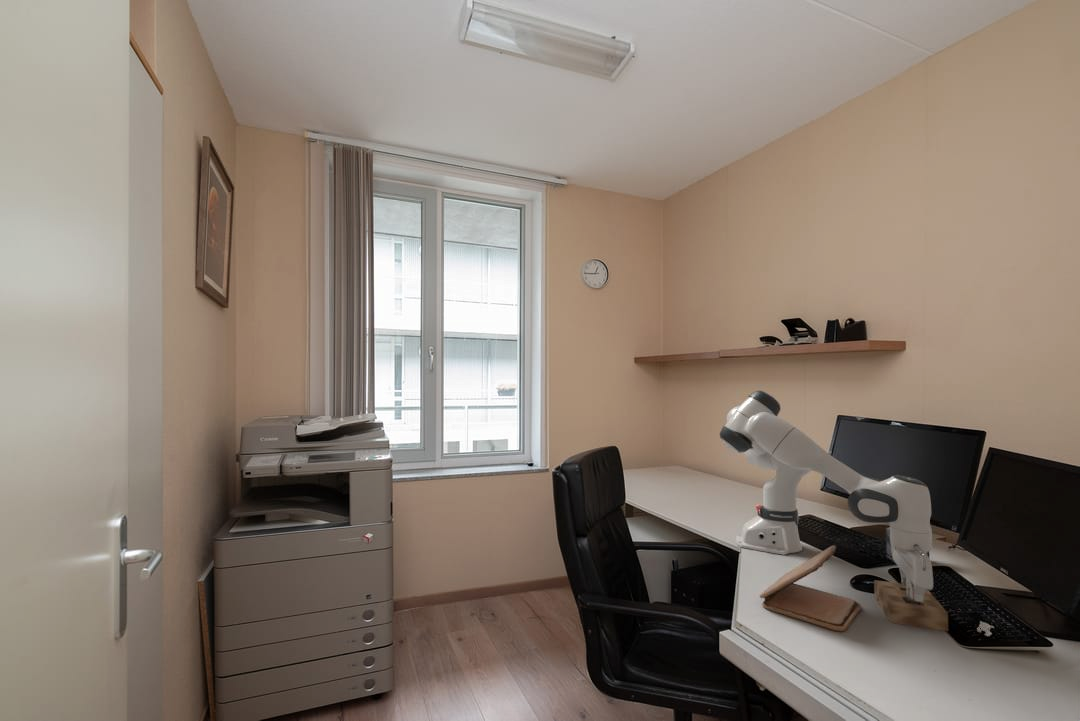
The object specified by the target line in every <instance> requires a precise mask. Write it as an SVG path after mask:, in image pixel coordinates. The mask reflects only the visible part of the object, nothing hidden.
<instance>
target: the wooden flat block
mask: <svg viewBox="0 0 1080 721" xmlns="http://www.w3.org/2000/svg"><path fill="white" fill-rule="evenodd" d="M873 583H874V587H873V588H874V597H875V599H876V601H877V602H878V604H879V606H880V607H881V609H882V611H883V613H884V614H885V616H886V618H887V619H888V621H889V622H890V623H894V624H900V625H904V626H905V625H906V626H911V627H912V626H913V627H918V628H927V629H931V630H938V631H939V630H940V631H944V632H949V613H948V611H947V610H946V609H945V608H944V607H943V605H941V603H940V602H939V601H938V600H937V598H936V597H935V596H934V595H933V594H932V593H931V592H930V590H926V589H925V593H924V595H923V602H918V604H919V605H917V604H910V603H907V586H904V585H903V584H902V583H898V582H891V581H885V580H876V579H875V580H873Z"/></svg>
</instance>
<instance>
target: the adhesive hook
mask: <svg viewBox="0 0 1080 721" xmlns="http://www.w3.org/2000/svg"><path fill="white" fill-rule="evenodd" d="M980 628H981V629H980ZM992 628H993V629H994V628H995V627H994V626H993V625H990V624H989V623H987V622H983V621H981V620H979V625H978V627H976V631H977V632H978V633H982V631H983V632H985V633H984V636H986V637H990V636H991V635H993V633H992V632H991V629H992Z"/></svg>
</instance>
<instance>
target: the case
mask: <svg viewBox="0 0 1080 721" xmlns="http://www.w3.org/2000/svg"><path fill="white" fill-rule="evenodd" d="M836 549H837V546H836V545H830V546H829V547H827V548H826V549H824V550H823V551H821V552H819V553H818V554H816V555H815V556H813V557H811V558H810V559H808V560H806V561H804V562H803V563H801V564H800V565H798V566H797V567H794V568H793V569H792V570H790V571H788V572H787V573H785V574H784V575H782V576H781V577H779V578H778V579H777V580H776V581H775V582H774V583H772V584H771V585H770V586H768V587H767V588H766V589H765V590H763V592H761V593H760V595H759V598H760V599H763V601H762V603H761V605H762V608H764V609H765V610H769V611H771V612H775V613H777V614H781V615H784V616H787V617H791V618H793V619H797V620H801V621H804V622H806V623H810V624H813V625H816V626H819V627H822V628H825V629H829V630H831V631H835V632H844V631H847V629H848V628H849V626H850V625H851V623H852V622H853V620H854V619H855V618H856V616H857V615H858V614H859V612H860V611H861V610H862V606H861V604H860V603H858V602H857V601H855V600H854V599H851V598H848V597H844V596H841V595H837V594H833V593H831V592H826V591H823V590H819V589H816V588H813V587H808V586H805V585H801V584H797V583H796V582H798V581H800V580H802V579H803V578H806V577H807V576H809V575H810V574H813V573H814V572H817V571H818V570H819V569H820V568H822V567H823V565H824V563H825V562H828V560H829V559H831V557H832V556H833V555H834V554H835V552H836Z"/></svg>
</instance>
